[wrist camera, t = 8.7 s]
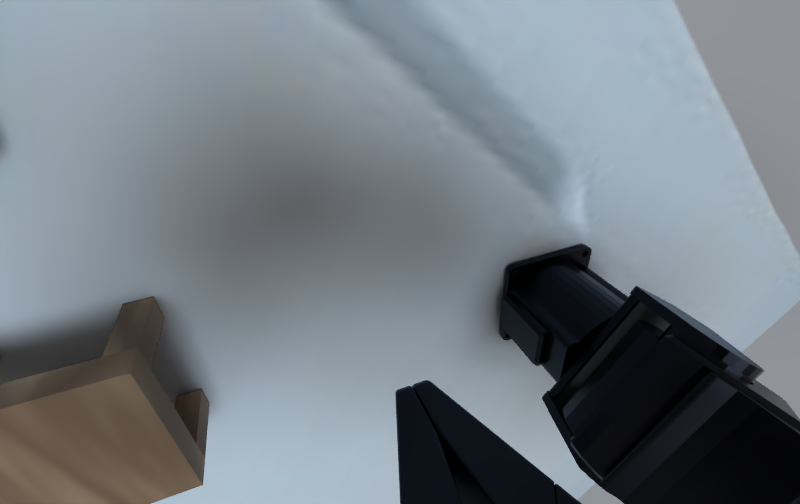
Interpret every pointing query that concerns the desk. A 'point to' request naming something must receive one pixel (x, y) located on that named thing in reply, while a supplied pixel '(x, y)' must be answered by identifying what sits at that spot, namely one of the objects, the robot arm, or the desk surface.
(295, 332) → the desk surface
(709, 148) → the desk surface
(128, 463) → the footstool
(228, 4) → the desk surface
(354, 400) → the desk surface
